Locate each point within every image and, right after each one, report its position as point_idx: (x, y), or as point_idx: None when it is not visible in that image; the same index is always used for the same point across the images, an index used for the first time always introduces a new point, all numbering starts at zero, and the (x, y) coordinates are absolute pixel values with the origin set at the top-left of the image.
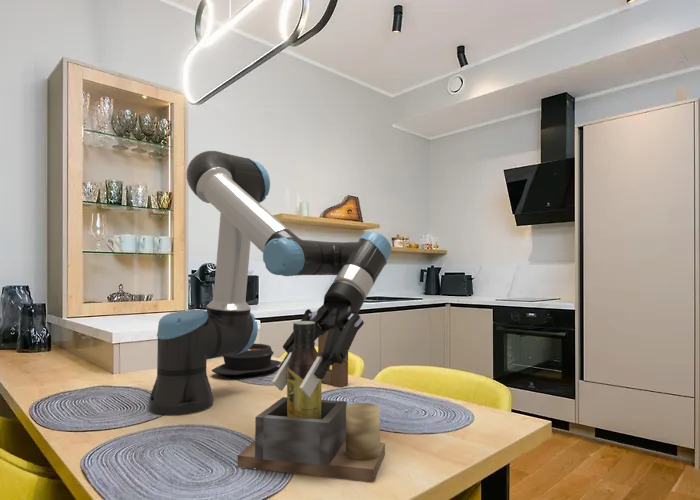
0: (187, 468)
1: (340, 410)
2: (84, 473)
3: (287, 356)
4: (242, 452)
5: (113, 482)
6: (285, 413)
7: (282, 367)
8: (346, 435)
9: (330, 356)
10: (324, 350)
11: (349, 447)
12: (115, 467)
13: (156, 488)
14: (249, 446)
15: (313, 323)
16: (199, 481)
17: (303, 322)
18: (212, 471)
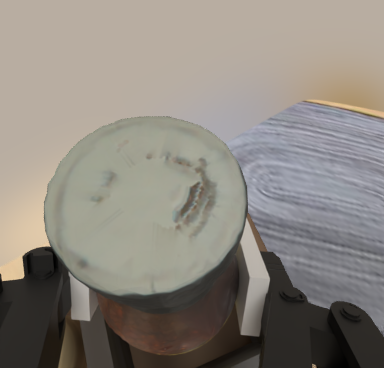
0: (295, 181)
1: (87, 361)
2: (369, 115)
3: (264, 264)
4: (252, 225)
5: (321, 118)
6: (260, 330)
7: (244, 235)
8: (69, 323)
9: (18, 285)
10: (49, 290)
11: (65, 316)
12: (364, 138)
13: (270, 132)
14: (265, 251)
15: (46, 197)
16: (247, 165)
17: (152, 180)
18: (260, 192)
